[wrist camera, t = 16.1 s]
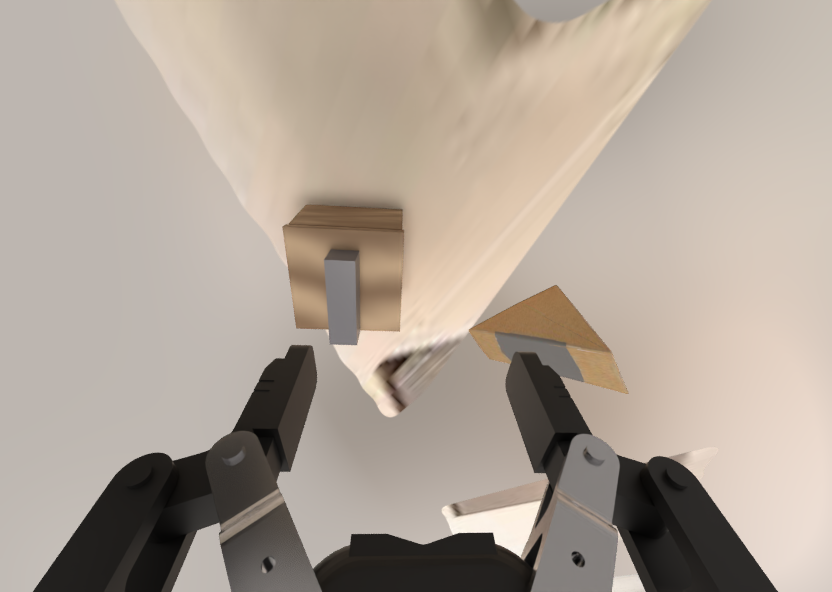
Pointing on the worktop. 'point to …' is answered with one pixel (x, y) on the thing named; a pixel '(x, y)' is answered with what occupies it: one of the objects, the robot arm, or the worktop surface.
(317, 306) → the lid
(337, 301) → the gray rectangular block
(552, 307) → the sandwich container
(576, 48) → the worktop surface
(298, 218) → the carton
